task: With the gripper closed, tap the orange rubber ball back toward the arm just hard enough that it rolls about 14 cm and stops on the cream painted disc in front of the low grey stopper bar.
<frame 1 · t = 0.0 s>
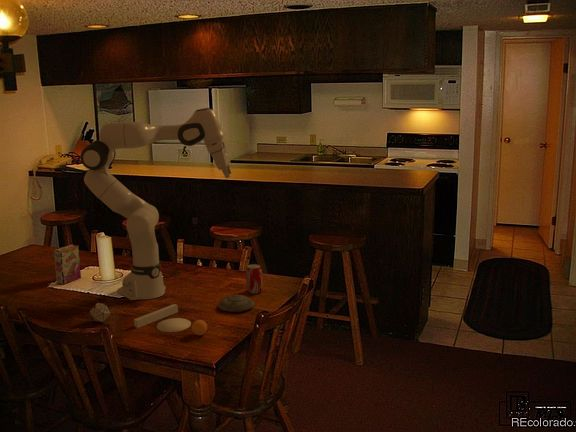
hand: (228, 175, 249), 52 cm above the table, tool tilted 20°, fingers open, 8 cm apart
candy bar box: (69, 281, 279), on the table
soda can: (254, 292, 260), on the table
stopper bar: (157, 319, 232), on the table
game die: (101, 322, 230), on the table
ball: (199, 327, 216), on the table
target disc: (173, 325, 226), on the table
flying saucer: (236, 308, 243), on the table
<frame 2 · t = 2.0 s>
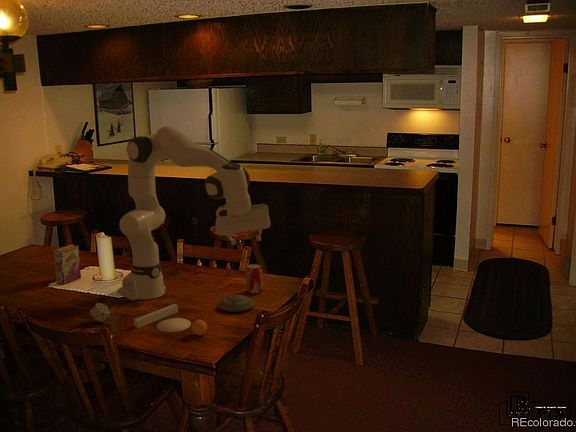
hand: (246, 242, 219), 32 cm above the table, tool pointing down, fingers open, 8 cm apart
nothing on the table moved.
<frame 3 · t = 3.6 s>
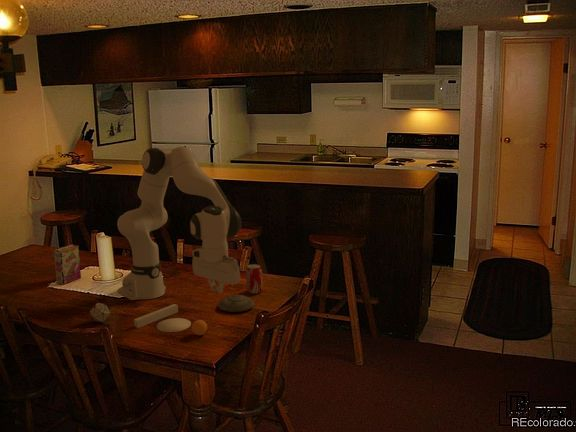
hand: (216, 291, 207), 19 cm above the table, tool pointing down, fingers closed
nothing on the table moved.
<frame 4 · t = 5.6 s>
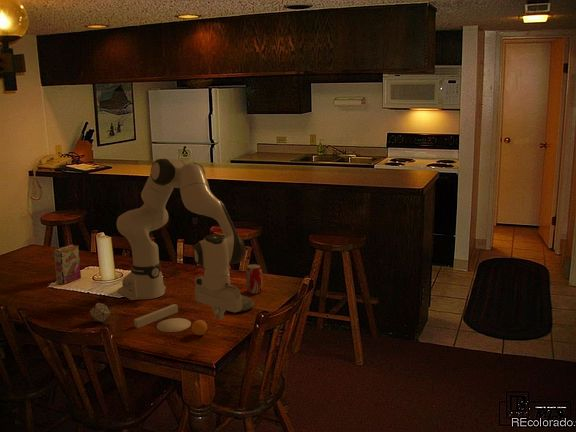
hand: (219, 318, 209), 9 cm above the table, tool pointing down, fingers closed
nothing on the table moved.
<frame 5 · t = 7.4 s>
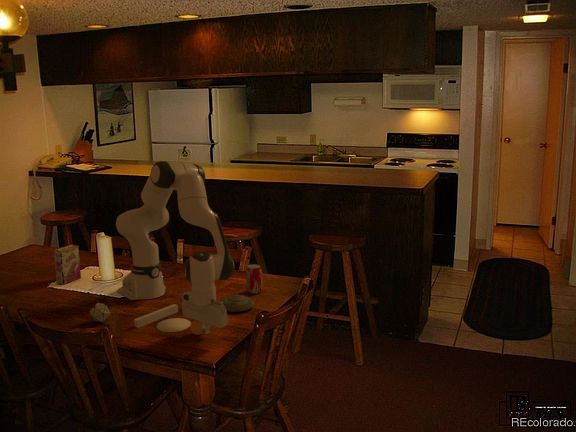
hand: (205, 332, 214), 2 cm above the table, tool pointing down, fingers closed
ball: (197, 327, 217), on the table, touching gripper
everything else where it was.
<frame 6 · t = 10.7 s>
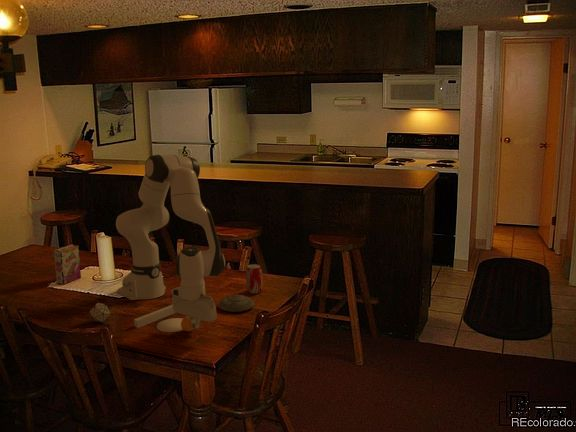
hand: (195, 327, 217), 2 cm above the table, tool pointing down, fingers closed
ball: (188, 323, 220), on the table, touching gripper
everything else where it was.
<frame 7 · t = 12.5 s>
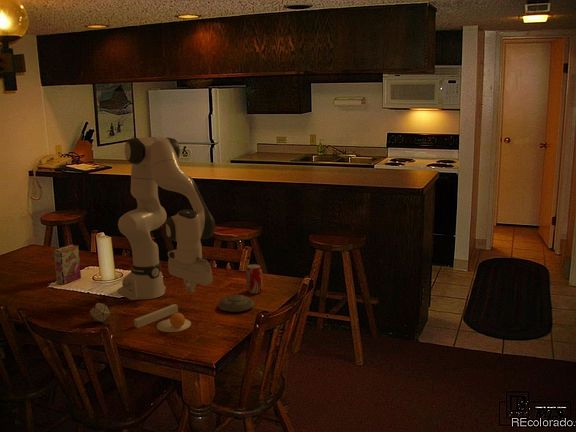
hand: (190, 291, 215), 16 cm above the table, tool pointing down, fingers closed
ball: (177, 320, 223), on the table
everything else where it was.
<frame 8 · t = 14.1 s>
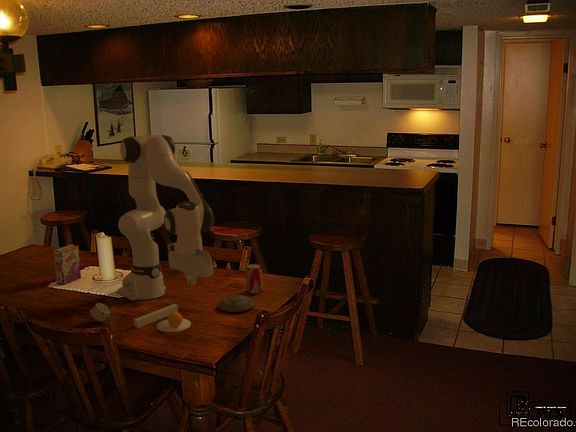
hand: (191, 283, 214), 19 cm above the table, tool pointing down, fingers closed
ball: (175, 319, 224), on the table
everything else where it was.
at the end: ball 1.4 cm from the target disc (horizontally); ball at rest at the end (0.0 cm/s); ball moved 13.1 cm from its start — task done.
